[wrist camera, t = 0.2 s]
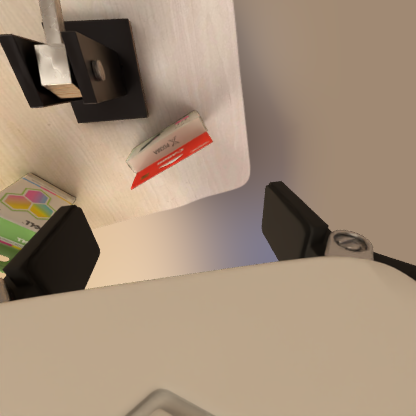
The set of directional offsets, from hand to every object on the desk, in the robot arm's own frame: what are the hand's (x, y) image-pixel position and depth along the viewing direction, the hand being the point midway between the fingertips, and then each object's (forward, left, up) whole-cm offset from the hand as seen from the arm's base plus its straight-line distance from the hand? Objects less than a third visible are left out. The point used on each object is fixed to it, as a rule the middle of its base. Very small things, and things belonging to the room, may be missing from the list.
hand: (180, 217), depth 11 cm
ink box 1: (+8, -21, -23) cm, 32 cm away
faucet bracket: (-7, -8, -23) cm, 25 cm away
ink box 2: (+1, -2, -23) cm, 23 cm away
